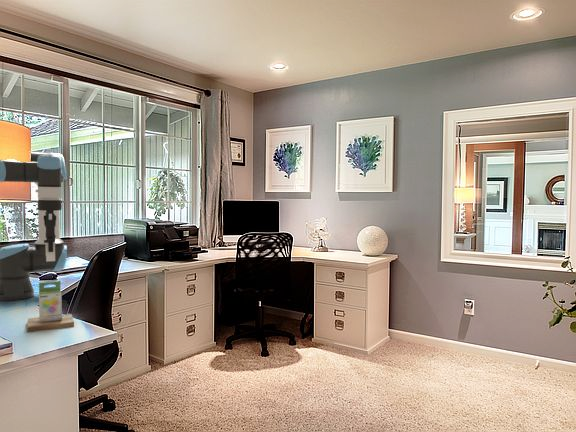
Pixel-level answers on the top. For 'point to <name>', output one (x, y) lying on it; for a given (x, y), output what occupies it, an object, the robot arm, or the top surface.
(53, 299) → the ink box
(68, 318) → the board
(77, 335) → the top surface
